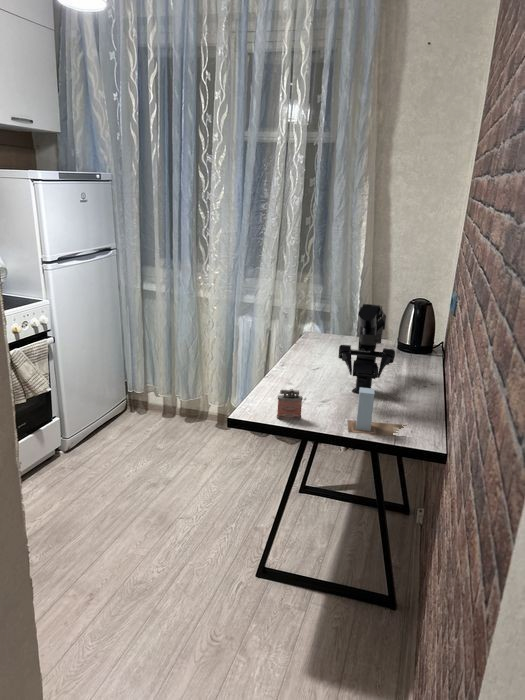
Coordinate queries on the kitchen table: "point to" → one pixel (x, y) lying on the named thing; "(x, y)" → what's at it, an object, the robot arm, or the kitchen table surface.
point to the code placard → (376, 428)
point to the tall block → (365, 409)
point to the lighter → (289, 405)
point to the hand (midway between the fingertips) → (364, 376)
